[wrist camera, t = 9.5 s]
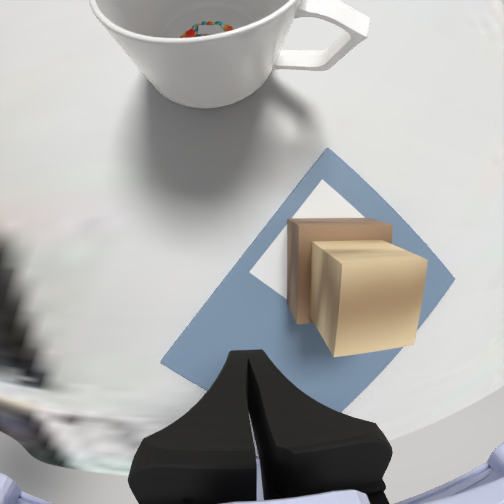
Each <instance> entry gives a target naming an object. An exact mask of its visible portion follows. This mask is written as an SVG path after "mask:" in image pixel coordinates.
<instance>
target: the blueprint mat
mask: <svg viewBox="0 0 504 504" xmlns="http://www.w3.org/2000/svg"><path fill="white" fill-rule="evenodd" d="M289 218H372V219H375V220H379V221H382V222H386V223H389V224H392V225H393V231H392V244H393V245H395V246H397V247H400V248H402V249H405V250H407V251H409V252H411V253H414V254H416V255H418V256H421V257H423V258H425V259H427V260H428V263H427V271H426V279H425V286H424V293H423V299H422V305H421V311H420V317H419V322H418V327H417V330H418V329H419V328H420V326H421V325H422V324H423V323H424V321H425V320H426V319H427V317H428V316H429V315H430V313H431V312H432V311H433V309H434V308H435V307H436V305H437V304H438V303H439V301H440V300H441V299H442V297H443V296H444V294H445V293H446V292H447V290H448V289H449V287H450V286H451V284H452V283H453V282H454V280H455V278H454V277H453V276H452V274H451V273H450V272H449V271H448V269H447V268H446V267H445V266H444V265H443V263H442V262H441V261H440V260H439V259H438V257H437V256H436V255H435V254H434V253H433V252H432V251H431V249H430V248H429V247H428V246H427V245H426V244H425V243H424V241H423V240H422V239H421V238H420V237H419V236H418V235H417V234H416V233H415V231H414V230H413V229H412V228H411V227H410V226H409V225H408V224H407V223H406V222H405V221H404V220H403V219H402V217H401V216H400V215H399V214H398V213H397V212H396V211H395V210H394V209H393V208H392V207H391V206H390V205H389V204H388V203H387V202H386V201H385V200H384V199H383V198H382V197H381V196H380V195H379V194H378V193H377V192H376V191H375V190H374V189H373V188H372V187H371V186H370V185H369V184H368V183H367V182H366V181H364V180H363V179H362V178H361V177H360V176H359V175H358V174H357V173H356V172H355V171H354V170H353V169H352V168H351V167H349V166H348V165H347V164H346V163H345V162H344V161H343V160H342V159H341V158H339V157H338V156H337V155H336V154H335V153H334V152H333V151H332V150H330V149H329V148H326V150H325V151H324V152H323V153H322V155H321V156H320V157H319V158H318V160H317V161H316V162H315V164H314V165H313V166H312V167H311V169H310V170H309V171H308V172H307V174H306V175H305V176H304V177H303V179H302V180H301V181H300V183H299V184H298V185H297V186H296V188H295V189H294V190H293V191H292V193H291V194H290V195H289V197H288V198H287V199H286V200H285V202H284V203H283V204H282V206H281V207H280V208H279V209H278V211H277V212H276V213H275V214H274V216H273V217H272V218H271V220H270V221H269V222H268V223H267V225H266V226H265V227H264V228H263V230H262V231H261V232H260V234H259V235H258V236H257V237H256V239H255V240H254V241H253V243H252V244H251V245H250V246H249V248H248V249H247V250H246V252H245V253H244V254H243V255H242V257H241V258H240V259H239V261H238V262H237V263H236V264H235V266H234V267H233V268H232V269H231V271H230V272H229V273H228V275H227V276H226V277H225V278H224V280H223V281H222V282H221V284H220V285H219V286H218V287H217V289H216V290H215V291H214V293H213V294H212V295H211V297H210V298H209V299H208V300H207V302H206V303H205V304H204V306H203V307H202V308H201V309H200V311H199V312H198V313H197V315H196V316H195V317H194V318H193V320H192V321H191V322H190V324H189V325H188V326H187V327H186V329H185V330H184V331H183V333H182V334H181V335H180V337H179V338H178V339H177V340H176V342H175V343H174V344H173V346H172V347H171V348H170V349H169V351H168V352H167V353H166V355H165V356H164V357H163V359H162V360H161V363H162V364H163V365H165V366H167V367H168V368H170V369H171V370H173V371H175V372H176V373H178V374H180V375H181V376H183V377H185V378H186V379H188V380H190V381H191V382H193V383H195V384H197V385H198V386H200V387H202V388H204V389H205V390H207V391H208V390H209V389H210V387H211V386H212V384H213V383H214V381H215V380H216V378H217V377H218V375H219V373H220V372H221V370H222V368H223V366H224V364H225V362H226V359H227V356H228V353H229V352H230V351H231V350H256V349H262V350H263V351H265V353H266V354H267V356H268V357H269V358H270V360H271V361H272V362H273V363H274V365H275V366H276V367H277V368H278V369H279V370H280V371H281V372H282V374H283V375H284V376H285V377H286V378H287V379H288V380H289V381H291V382H292V383H293V384H294V385H295V386H296V387H297V388H299V389H300V390H301V391H302V392H304V393H305V394H307V395H308V396H310V397H311V398H313V399H314V400H316V401H318V402H319V403H321V404H323V405H325V406H327V407H329V408H331V409H333V410H335V411H338V412H340V413H341V412H342V411H343V410H344V409H345V408H346V407H347V406H348V405H349V404H350V403H351V402H352V401H353V400H354V399H355V398H356V397H357V396H358V395H359V394H360V393H361V392H362V391H363V390H364V389H365V388H366V387H367V386H368V385H369V384H370V383H371V382H372V381H373V380H374V379H375V378H376V377H377V376H378V375H379V374H380V373H381V372H382V371H383V369H384V368H385V367H386V366H387V365H388V364H389V363H390V362H391V361H392V360H393V358H394V357H395V356H396V355H397V354H398V353H399V352H400V350H401V349H402V348H403V347H399V348H393V349H388V350H382V351H375V352H369V353H362V354H355V355H348V356H340V357H333V355H332V353H331V352H330V350H329V348H328V346H327V345H326V343H325V341H324V340H323V338H322V336H321V334H320V333H319V331H318V329H317V328H316V326H315V324H314V323H309V324H296V322H295V320H294V317H293V315H292V313H291V311H290V309H289V307H288V305H287V219H289Z"/></svg>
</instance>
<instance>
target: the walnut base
mask: <svg viewBox="0 0 504 504" xmlns="http://www.w3.org/2000/svg"><path fill="white" fill-rule="evenodd" d="M392 231H393V225H392V224H389V223H386V222H382V221H379V220H375V219H372V218H289V219H287V305H288V307H289V309H290V311H291V313H292V315H293V317H294V320H295V322H296V324H309V323H314V322H313V321H312V319H311V317H310V316H309V306H310V285H311V256H312V241H355V240H383V241H386V242H388V243H390V244H392Z"/></svg>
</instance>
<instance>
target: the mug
mask: <svg viewBox="0 0 504 504" xmlns="http://www.w3.org/2000/svg"><path fill="white" fill-rule="evenodd" d="M89 2H90V6H91V8H92V11H93V13H94V14H95V16H96V17H97V19H98V20H99V21H100V22H101V23H102V25H103V26H104V27H105V28H106V29H107V31H108V32H109V33H110V34H111V35H112V37H113V38H114V39H115V40H116V41H117V43H118V44H119V45H120V46H121V47H122V49H123V50H124V51H125V52H126V53H127V55H128V56H129V57H130V58H131V59H132V61H133V62H134V63H135V64H136V66H137V67H138V68H139V69H140V70H141V72H142V73H143V74H144V75H145V77H146V78H147V79H148V80H149V81H150V83H151V84H152V85H153V86H154V88H155V89H156V90H157V91H158V92H159V93H161V94H162V95H163V96H165V97H166V98H168V99H169V100H171V101H173V102H176V103H178V104H181V105H184V106H188V107H193V108H217V107H223V106H226V105H230V104H233V103H236V102H238V101H240V100H242V99H244V98H246V97H248V96H249V95H251V94H252V93H253V92H255V91H256V90H257V89H258V88H259V87H260V86H261V85H262V84H263V83H264V82H265V81H266V80H267V78H268V77H269V75H270V73H271V72H272V70H275V69H294V70H310V71H324V70H328V69H330V68H331V67H332V66H333V65H335V64H336V63H337V62H338V61H339V60H340V59H341V58H342V57H344V56H345V55H346V54H347V53H348V52H349V51H350V50H352V49H353V48H354V47H355V46H356V45H357V44H359V43H360V42H361V41H363V40H364V39H367V37H368V32H369V26H370V21H371V18H369V17H367V16H365V15H363V14H362V13H360V12H358V11H356V10H355V9H353V8H351V7H350V6H348V5H346V4H345V3H343V2H341V1H339V0H89ZM300 17H315V18H320V19H323V20H326V21H328V22H331V23H333V24H335V25H337V26H339V27H341V28H342V29H344V30H345V32H344V33H343V34H342V35H341V36H340V37H339V38H338V39H337V40H336V41H335V42H334V43H333V44H332V45H331V46H330V47H329V48H328V49H325V50H321V51H307V50H282V49H281V48H282V45H283V43H284V41H285V38H286V36H287V34H288V31H289V29H290V26H291V24H292V22H293V19H294V18H300Z"/></svg>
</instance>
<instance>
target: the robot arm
mask: <svg viewBox="0 0 504 504" xmlns="http://www.w3.org/2000/svg"><path fill="white" fill-rule="evenodd" d="M249 413H250V418H251V422H252V427H253V431H254V436H255V440H256V445H257V449H258V454H259V459H258V458H256V455H255V448H254V443H253V438H252V432H251V426H250V420H249ZM391 457H392V447H391V445H390V443H389V442H388V440H387V438H386V437H385V435H384V434H383V432H382V431H381V430H380V429H379V427H378V426H377V425H376V423H373V422H369V421H365V420H361V419H358V418H354V417H351V416H348V415H345V414H343V413H340V412H338V411H335V410H333V409H331V408H329V407H327V406H325V405H323V404H321V403H319V402H318V401H316V400H314V399H313V398H311V397H310V396H308V395H307V394H305V393H304V392H302V391H301V390H300V389H299V388H297V387H296V386H295V385H294V384H293V383H292V382H291V381H289V380H288V379H287V378H286V377H285V376H284V375H283V374H282V372H281V371H280V370H279V369H278V368H277V367H276V366H275V365H274V363H273V362H272V361H271V360H270V358H269V357H268V356H267V354H266V353H265V351H263V350H262V349H256V350H231V351H230V352H229V353H228V356H227V359H226V362H225V364H224V366H223V368H222V370H221V372H220V373H219V375H218V377H217V378H216V380H215V381H214V383H213V384H212V386H211V387H210V389H209V390H208V391H207V392H206V394H205V395H204V396H203V397H202V398H201V399H200V401H199V402H198V403H197V404H196V405H195V406H194V407H192V408H191V409H190V410H189V411H188V412H187V413H186V414H185V415H183V416H182V417H181V418H179V419H178V420H177V421H175V422H174V423H172V424H171V425H169V426H168V427H166V428H164V429H162V430H160V431H158V432H156V433H154V434H152V435H150V436H148V437H146V438H144V439H143V440H142V442H141V444H140V446H139V448H138V450H137V452H136V454H135V456H134V459H133V461H132V465H131V469H130V473H129V477H128V483H129V486H130V488H131V490H132V492H133V494H134V496H135V498H136V500H137V501H138V503H139V504H389V502H388V500H387V498H386V495H385V493H384V490H385V489H386V486H385V483H384V481H383V480H382V477H383V475H384V473H385V471H386V469H387V467H388V465H389V462H390V460H391ZM0 504H53V503H50V502H47V501H45V500H42V499H39V498H37V497H34V496H32V495H29V494H27V493H24V492H22V491H21V490H20V488H19V487H18V485H17V484H16V483H15V482H14V481H13V480H12V479H11V478H10V477H8V476H7V475H5V474H3V473H1V472H0ZM395 504H504V443H502V444H501V445H499V446H498V447H497V448H496V449H495V450H494V452H492V454H491V455H490V457H489V459H488V461H487V462H486V463H484V464H483V465H481V466H479V467H477V468H475V469H473V470H472V471H470V472H468V473H466V474H464V475H462V476H460V477H458V478H456V479H454V480H452V481H450V482H447V483H445V484H443V485H441V486H439V487H436V488H434V489H432V490H429V491H427V492H424V493H422V494H419V495H417V496H414V497H412V498H409V499H406V500H404V501H401V502H398V503H395Z"/></svg>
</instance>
